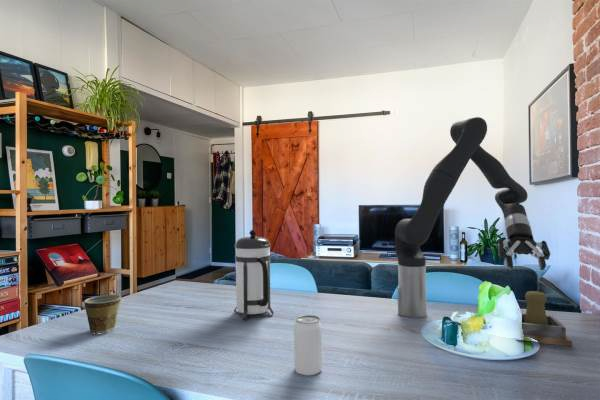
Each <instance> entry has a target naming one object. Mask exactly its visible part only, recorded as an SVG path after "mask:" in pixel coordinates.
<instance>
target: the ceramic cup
mask: <svg viewBox="0 0 600 400" xmlns="http://www.w3.org/2000/svg"><path fill="white" fill-rule="evenodd" d="M120 304H121V295H117V294H105V295H96V296H93V297H90V298H87V299H85V300H84V309H85V313H86V316H87V321H88V326H89V331H90V333H91V334H92V333H95V334H94V335H96V334H98V333H106V334H108V333H107V332H109V331H112V330H114V331H115V328H116V325H117V320H118V319H117V318H118V311H119V309H120ZM112 332H113V331H112ZM109 333H110V332H109ZM98 335H99V334H98Z"/></svg>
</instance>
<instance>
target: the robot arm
mask: <svg viewBox="0 0 600 400" xmlns="http://www.w3.org/2000/svg"><path fill="white" fill-rule="evenodd" d="M487 132H488V125H487V122H486V120H485V119H484V118H482V117H479V116H472V117H467V118H464V119H463V118H462V119H460V120H456V121H455V122H454V123H452V125H451V127H450V129H449V134H450V137H451V140H452V141H453V143H455V146H454V147H453V148H452V149H451V150H450V151H449V152H448V153H447V154H446V155H445V156H444V157H443V158H442V159H441V160H440V161H438V162H437V164H435V166H434V167H433V169H432V170H431V172H430V173H429V175H428V177H427V179H426V181H425V183H424V186H423V191H422V197H421V202H420V205H419V206H418V208H417V210H416V212H415V213H414V214H413V216H412V217H411V218H403V219H401V220H399V222H397V224H396V226H395V230H394V243H395V244H394V245H395V246H394V247H395V255H396V258H397V266H398V267H397V269H398V270H397V273H398V274H397V277H398V280H397V281H398V286H397V313H398V314H397V315H399V316H403V317H407V318H417V319H418V318H425V317H426V316H427V271H426V270H427V268H426V266H427V264H426V261H427V260H426V256H425V255H424V254H423V253H422V250H421V246H423V245H424V244H425V243H426V242H427V241H428V239H429V238H430V235H431V233H432V231H433V228H434V225H435V224H436V222H437V219H438V217H439V214H441V213H440V212H441V210H442V209H443V207H444V206H445V205H446V202H447V200H448V198H449V197H450V195H451V194H452V192H453V190H454V188H455V187H456V184H457V182H458V181H459V179H460V177H461V175H462V173H463V172H464V170H465V168H466V166H467V164H468V163H469V161H470V160H471V161H472V162H473V163H474V164H475V166H477V168H478V169H479V171H480V172H481V173H482V174H483V176H484V177H485V179H486V181H487V182H488V184H490V186H491V187H492V188H493V189H494V190H495V189H496V190H498V191H497V192H495V195H494V199H495V203H496V204H497V205H498V206H499V207H500V210H501V211H502V212H501V213H502V214H503V219H504V230H505V233H506V237H507V241H503V239H499V240H498V242H497V243H498V244H497V249H498V257H499V258H500V259H502V258H503V259H505V261H506V266H507V267H508V268H509V269H511V270H512V269H513V268H514V267H513V266H514V262H513V259H512V258H513V256H514V255H516V254H517V255H527V256H528V255H530V256H531V257H533V258H535V259H537V261H538V265H539V270H540V271H544V270H545V269H546V266H547V264H546V261H547V260H550V256H551V251H550V248H549V246H548V243H547V241H546V240H542V241H541V242H536V241H535V238H534V236H533V231H532V228H531V223H530V221H529V219H528V215H527V211H526V208H525V206H524V205H523V204H522V203H524V202H526V201H527V200H528V192H527V190H526V188H525V187H523V185H521V184H520V183H518V181H516V180H515V179H514V178H512V177H511V175H510V174H509V173H508V172H507V170H506V168H505V167H504V165H503V164H502V163H501V161H499V160H498V159H497V158H496V157H495V156H493V155H492V154H490V153H489V152H487V150H485V149H484V148H483V147H482V146H481V144H482V142H483V141H484V139H485V138H486V135H487ZM499 189H501V190H499ZM506 247H508V248H509V250H508V251H507V252H505V248H506ZM540 250H541V251H540Z"/></svg>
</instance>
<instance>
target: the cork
mask: <svg viewBox="0 0 600 400" xmlns="http://www.w3.org/2000/svg"><path fill="white" fill-rule="evenodd" d="M524 298H525V301H526V302H527V304H526V305H527V306H526V311H525V313H526V317H525V323H530V324H541V325H548V323H547V317H546V315H547V312H546V307H545V305H546V303H547V296H546V294H545V293H544V292H542V291H537V290H529V291H526V293H525V295H524Z"/></svg>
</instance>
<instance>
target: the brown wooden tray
mask: <svg viewBox="0 0 600 400" xmlns="http://www.w3.org/2000/svg"><path fill="white" fill-rule="evenodd" d="M521 313H522V329H523V334H524V337H530V338H533V339H535V340H537V341H538V342H539V343H538V344H547V345H555V346H556V345H557V346H566V347H572V346H573V340H572V339H571V338H570V337H569V336H568V335H567V328H566V326H564V325H563V324H562V322H560V321H559V320H558V319H557V318H556V317H555V316H554V315H548V314H546V317H547V323H548V325H541V324H530V323H525V317H526V312H521Z"/></svg>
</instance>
